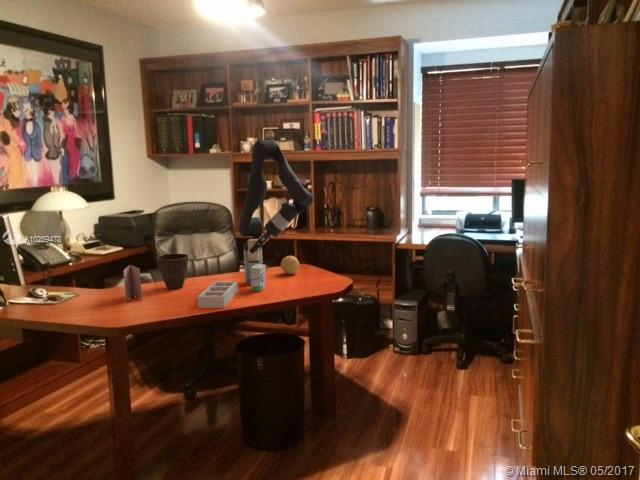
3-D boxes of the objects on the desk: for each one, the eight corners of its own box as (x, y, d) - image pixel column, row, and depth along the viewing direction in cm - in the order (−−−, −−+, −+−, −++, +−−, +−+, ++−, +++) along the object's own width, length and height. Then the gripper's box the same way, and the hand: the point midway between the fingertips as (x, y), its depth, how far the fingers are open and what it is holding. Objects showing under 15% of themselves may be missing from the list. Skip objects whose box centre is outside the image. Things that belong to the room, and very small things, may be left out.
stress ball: (291, 273, 296) (276, 262, 294) (302, 260, 295) (288, 249, 292) (292, 280, 287) (277, 269, 284) (303, 266, 285) (288, 256, 282)
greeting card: (130, 295, 255) (128, 264, 252) (146, 295, 256) (144, 264, 253) (124, 302, 244) (121, 270, 241) (141, 301, 244) (138, 269, 242)
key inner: (216, 287, 255) (216, 284, 255) (233, 287, 255) (233, 284, 254) (213, 291, 249) (212, 288, 249) (230, 290, 249) (230, 287, 248)
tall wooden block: (250, 260, 244) (249, 239, 242) (260, 260, 243) (259, 239, 242) (248, 263, 239) (247, 240, 238) (258, 262, 239) (257, 240, 237)
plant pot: (192, 289, 263) (190, 257, 260) (160, 293, 258) (158, 260, 255) (188, 283, 277) (186, 252, 274) (158, 286, 272) (156, 255, 269)
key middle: (211, 292, 247) (211, 289, 247) (229, 292, 247) (229, 289, 246) (208, 295, 241) (207, 293, 241) (226, 295, 241) (225, 293, 240)
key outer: (206, 297, 239) (206, 293, 239) (224, 296, 239) (224, 293, 238) (202, 300, 233) (202, 297, 233) (221, 300, 233) (221, 297, 232)
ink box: (256, 287, 265) (255, 263, 263) (266, 287, 263) (265, 263, 262) (250, 291, 256) (249, 267, 254) (261, 292, 255) (260, 267, 253)
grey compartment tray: (214, 292, 258) (214, 281, 257) (238, 291, 257) (237, 281, 256) (198, 307, 232) (197, 296, 231) (224, 307, 231) (223, 296, 230)
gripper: (273, 216, 244) (248, 242, 247) (268, 220, 230) (242, 248, 233) (285, 227, 245) (260, 253, 248) (281, 232, 231) (254, 260, 234)
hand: (251, 251), depth 241 cm, fingers closed on tall wooden block, 4 cm apart
